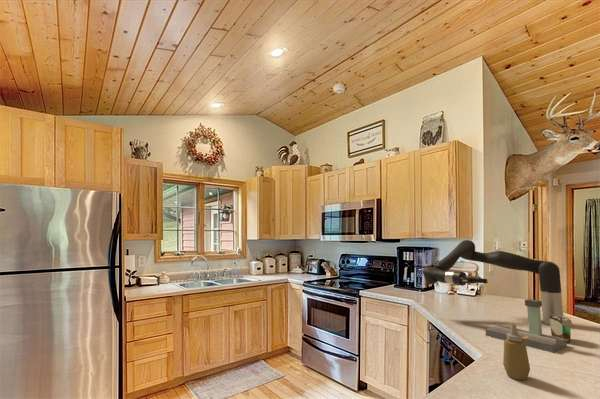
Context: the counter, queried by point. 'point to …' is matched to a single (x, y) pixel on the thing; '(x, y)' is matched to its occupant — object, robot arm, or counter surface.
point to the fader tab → (534, 316)
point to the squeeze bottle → (515, 356)
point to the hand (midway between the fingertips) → (486, 281)
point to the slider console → (529, 338)
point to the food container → (560, 327)
